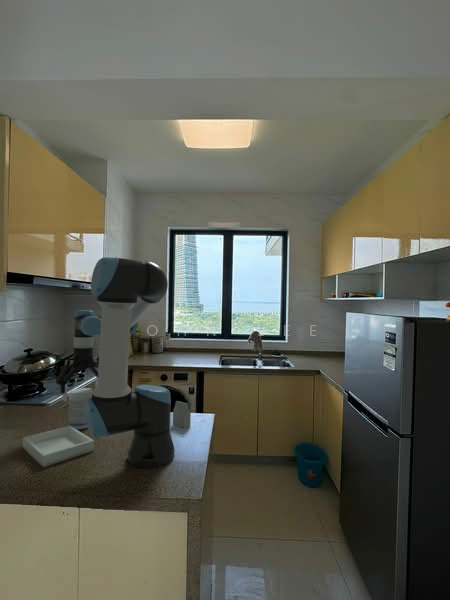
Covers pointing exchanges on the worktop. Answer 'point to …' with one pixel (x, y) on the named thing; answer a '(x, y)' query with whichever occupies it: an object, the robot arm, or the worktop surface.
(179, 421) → the grey block
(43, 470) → the worktop surface
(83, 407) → the supplement tub
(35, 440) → the tray
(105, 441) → the worktop surface
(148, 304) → the robot arm
